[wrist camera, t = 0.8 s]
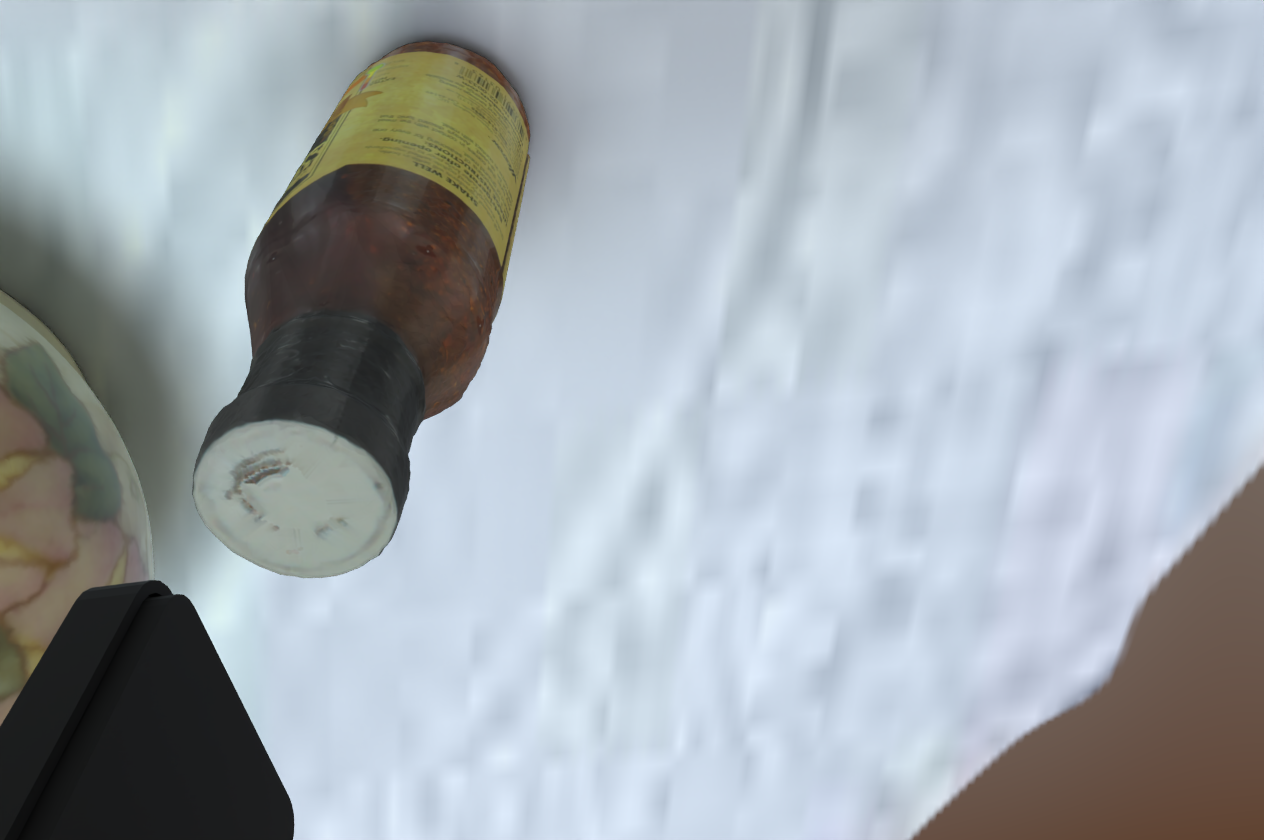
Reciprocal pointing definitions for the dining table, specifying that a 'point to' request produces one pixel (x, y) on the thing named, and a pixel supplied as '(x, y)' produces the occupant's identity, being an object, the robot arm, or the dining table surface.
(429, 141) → the sauce bottle
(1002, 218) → the dining table surface
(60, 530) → the pitcher
